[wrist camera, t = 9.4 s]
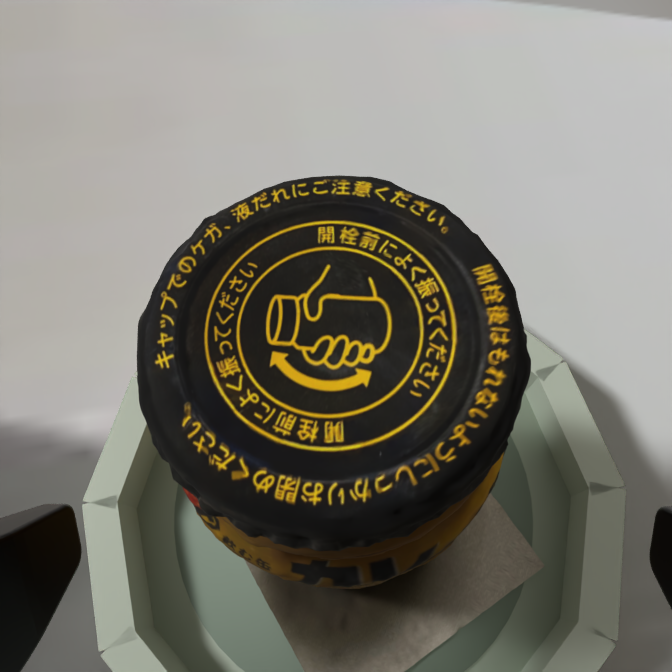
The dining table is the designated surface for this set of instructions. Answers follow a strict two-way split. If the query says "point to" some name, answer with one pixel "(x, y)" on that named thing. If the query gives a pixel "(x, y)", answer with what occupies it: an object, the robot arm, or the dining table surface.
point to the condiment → (344, 412)
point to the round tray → (259, 621)
